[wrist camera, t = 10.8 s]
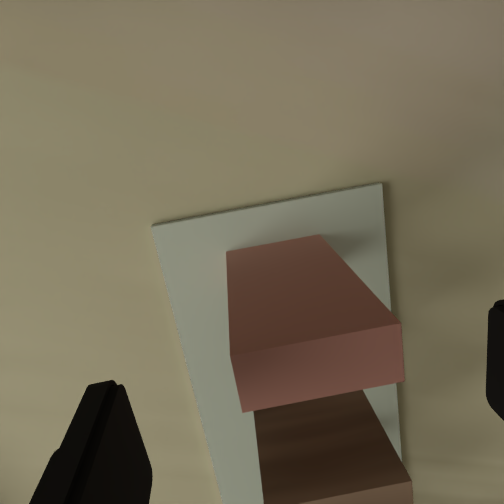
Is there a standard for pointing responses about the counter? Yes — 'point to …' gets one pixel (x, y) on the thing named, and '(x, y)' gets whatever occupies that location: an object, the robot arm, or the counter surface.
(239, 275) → the domino
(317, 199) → the mat
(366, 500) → the domino
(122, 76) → the counter surface
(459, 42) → the counter surface
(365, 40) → the counter surface
